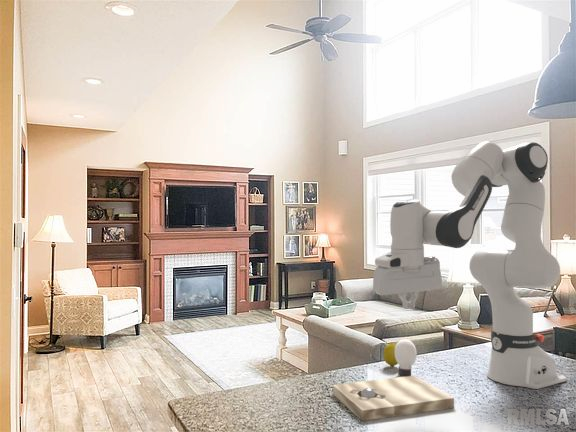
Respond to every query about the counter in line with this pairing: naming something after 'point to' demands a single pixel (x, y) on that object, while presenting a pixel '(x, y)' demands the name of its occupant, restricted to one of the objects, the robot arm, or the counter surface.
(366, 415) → the beige flat wooden board
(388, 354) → the lemon
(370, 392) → the ball
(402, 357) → the light bulb
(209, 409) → the counter surface
